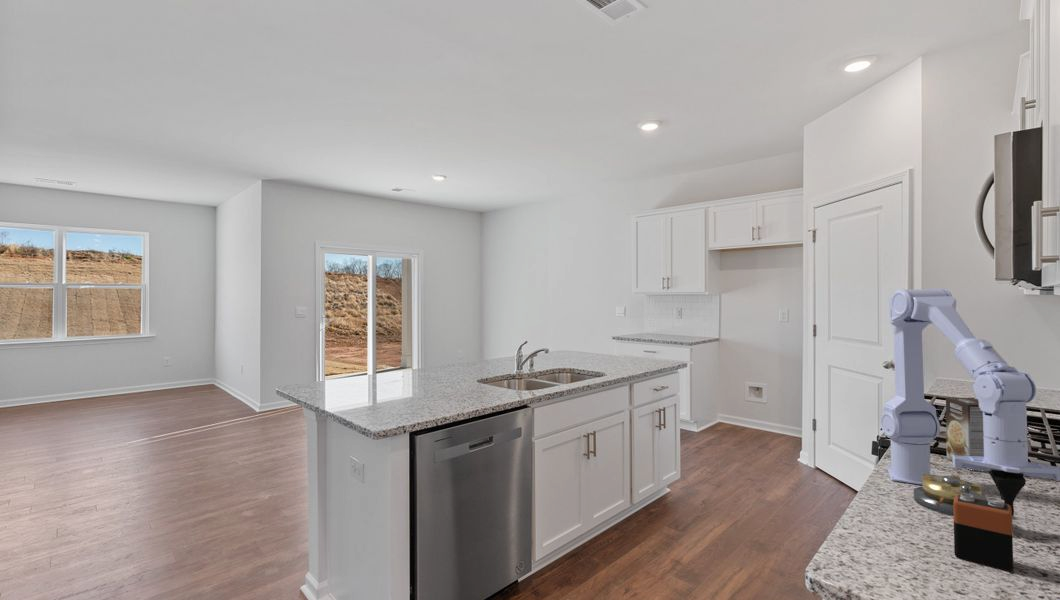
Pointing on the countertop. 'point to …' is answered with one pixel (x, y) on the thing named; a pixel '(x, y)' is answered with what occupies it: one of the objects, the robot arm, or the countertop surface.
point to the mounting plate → (932, 502)
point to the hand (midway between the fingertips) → (1007, 513)
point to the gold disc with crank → (949, 488)
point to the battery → (983, 531)
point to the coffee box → (964, 427)
